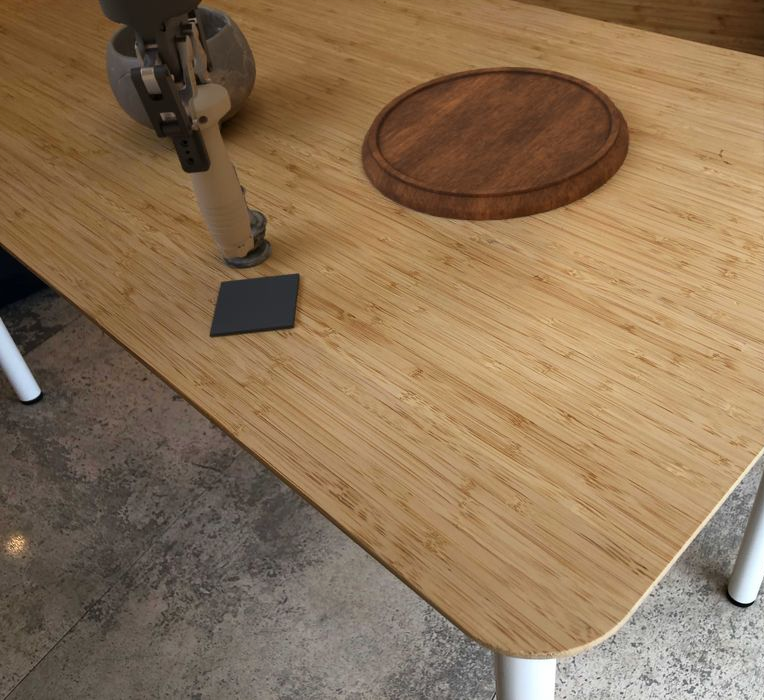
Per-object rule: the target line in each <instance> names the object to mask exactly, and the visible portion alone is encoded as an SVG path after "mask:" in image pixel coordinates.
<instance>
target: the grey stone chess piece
mask: <svg viewBox="0 0 764 700" xmlns="http://www.w3.org/2000/svg"><path fill="white" fill-rule="evenodd" d="M231 164H232V166H233V169H234V171H235V174H236V177H237V179H238V182H239V184H240V187H241V189H242V192H243V195H244V199H245V202H246V206H247V211H248V215H249V220H250V228H251V232H250V234H251V235H253V240H254V247H253V248H252V249H251V250H249V251H248V253H247V255H246V256H244V257H234V258H230V259H227V258H225V257H224V256H223V254H222V255H221V259H222V261H223V263H224V265H226V266H227V267H230V268H233V269H249V268H253V267H256V266H258V265H260V264H261V263H263V262H265V261H266V260H267V259H268V258H269V257H270V256H271V254H272V253H273V252H272V251H273V246H272V243H271V242H270V241H269V240H267V239H266V238H265V237H266V233H267V232H266V231H267V228H266V227H267V224H268V220H267V216H266V215H265V214H264V213H263V212H261V211H260V210H257V209H251V208H249V206H248V203H247V199H246V193H247V189H246V187H244V186H243V185H242V184H241V183H240V180H239V179H240V178H239V176H238V172H237V169H236V167H235V164H234V163H233V162H232V161H231Z"/></svg>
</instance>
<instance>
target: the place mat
mask: <svg viewBox="0 0 764 700" xmlns="http://www.w3.org/2000/svg"><path fill="white" fill-rule="evenodd" d="M300 278H301V275H300V273H299V272H297V273H296V272H295V273H287V274H279V275H270V276H268V275H267V276H260V277H252V278H241V279H234V280H224V281H220V282H221V283H220V286H219V288H218V289H219V290H218V295H217V299H216V303H215V308H214V311H213V317H212V320H211V321H212V322H211V326H210V330H209V337H210V338H213V337H223V336H224V337H225V336H232V335H241V334H242V335H243V334H250V333H259V332H269V331H276V330H277V331H278V330H286V329H287V330H288V329H294V328H295V320H296V312H297V303H298V295H299V286H300Z"/></svg>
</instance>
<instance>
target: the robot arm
mask: <svg viewBox="0 0 764 700" xmlns="http://www.w3.org/2000/svg"><path fill="white" fill-rule="evenodd" d="M97 1H98V4H99V7H100V9H101V11H102V14H103V15H104V17H106V18H107V19H108V20H109V21H111V22H113V23H115V24H122V25H124V24H125V25H127V26H129V27H131V28H133V29H134V31H135V33H136V34H135V36H136V40H137V41H136V42H135V49H136V54H137V58H138V61H139V63H140V64H141V65H142V67H136V68H131V70H130V77H131V80H132V82H133V84H134V86H135V88H136V91H137V93H138V95H139V97H140V99H141V102H142V104H143V106H144V108H145V110H146V112H147V115H148V117H149V119H150V121H151V123H152V126H153V128H154V130H153V131H154V133H155V134H156V136H157V138H158V139H165V138H169V137H170V138H171V141H172V144H173V147H174V149H175V152H176V155H177V157H178V160H179V163H180V166H181V169H182V171H183V172H185V173H186V174H189V173H197V172H206V171H208V170H209V168H210V164H211V161H210V158H209V155H208V152H207V149H206V146H205V143H204V140H203V137H202V134H201V131H200V128H199V126H198V125H199V123H198V120H197V116H196V112H195V107H194V99H195V98H196V97H197V96H198V89H197V85H202V84H209V83H212V80H211V78H210V76H209V74H208V72H212V71H213V63H212V61H211V58H210V54H209V50H208V46H207V42H206V38H205V34H204V31H203V27H202V23H201V19H200V15H199V11H198V5H201V3H202V1H203V0H97ZM175 84H178V86H179V88H180V90H177V88H176V86H175ZM181 89H182V90H181ZM182 102H183V103H182ZM183 104H184V105H183ZM170 112H172V113H174V114H175V116H176V117H171V113H170ZM218 125H219V130H220V131H221V128H222V123H221V122H220V120H219V121H218Z"/></svg>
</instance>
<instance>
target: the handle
mask: <svg viewBox="0 0 764 700" xmlns="http://www.w3.org/2000/svg"><path fill="white" fill-rule="evenodd" d="M197 89H198V96H197V97H196V98H195V99H194V107H195V112H196V116H197V120H198V123H199V125H198V126H199V128H200V131H201V134H202V137H203V140H204V143H205V146H206V149H207V152H208V155H209V158H210V161H211V164H210V168H209V170H208V171H206V172H197V173H188V174H189V177H190V181H191V184H192V188H193V192H194V196H195V199H196V202H197V203H196V204H197V205H198V209H199V211H200V214H201V217H202V219H203V221H204V223H205V226H206V228H207V230H208V232H209V234H210V236H211V238H212V240H213V241H214V244H215V247H216V248H217V250H218V252H219V253H220V254H222V255H223V256H224V257H225V258H227V259H230V258H234V257H244V256H246V255H247V253H248V251H249V250H251V249H252V248H253V247H254V240H253V235H251V234H250V232H251V228H250V220H249V215H248V211H247V206H248V205H247V206H246V202H247V201H246V202H245V199H246V198H245V199H244V195H243V192H242V189H241V187H240V185H241V183H240V184H239V182H240V181H239V182H238V179H239V178H238V179H237V177H236V174H235V171H234V169H233V166H232V164H231V162H232V161H231V159H230V157H229V154H228V151H227V148H226V145H225V142H224V140H223V137H222V133H221V129H220V130H219V125H218V121H219V120H220V119H221V118H222V117H223V116H224V115H225V114H226V113H227V112H228V111H229V110H230V108H231V102H230V99H229V95H228V92H227V90H226V89H225V88H224V87H223V86H221V85H218V84H213V83H209V84H202V85H197ZM181 90H182V89H181ZM182 103H183V102H182ZM183 105H184V104H183ZM170 113H171V117H176V116H175V114H174V113H172V112H170Z"/></svg>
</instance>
